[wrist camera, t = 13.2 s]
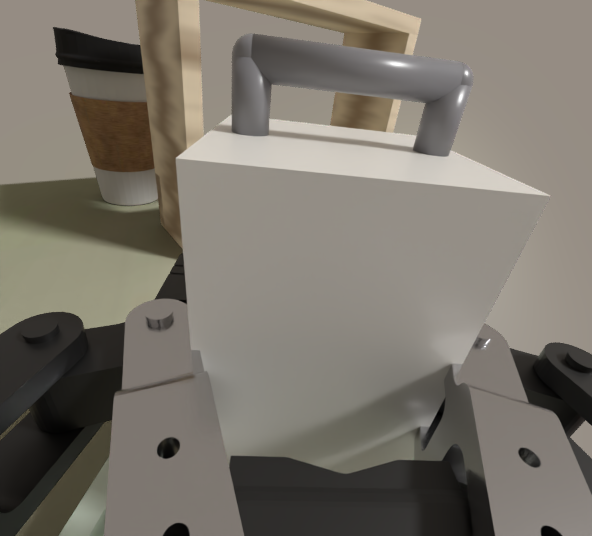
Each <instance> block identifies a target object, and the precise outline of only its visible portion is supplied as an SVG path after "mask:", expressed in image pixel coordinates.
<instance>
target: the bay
mask: <svg viewBox="0 0 592 536" xmlns="http://www.w3.org/2000/svg"><path fill="white" fill-rule="evenodd" d="M206 1H211V2H215V3H219V4H223V5H228V6H232V7H236V8H240V9H245V10H249V11H253V12H257V13H261V14H266V15H270V16H274V17H278V18H283V19H287V20H291V21H296V22H299V23H304V24H308V25H313V26H316V27H321V28H325V29H329V30H333V31H338V32H342V33H344V39H343V46H348V47H356V48H363V49H370V50H378V51H385V52H393V53H400V54H408V55H413V51H414V47H415V43H416V39H417V35H418V31H419V27H420V23H421V19H420V18H417V17H414V16H411V15H408V14H405V13H402V12H399V11H396V10H393V9H390V8H387V7H384V6H381V5H378V4H375V3H372V2H369V1H366V0H206ZM135 2H136V11H137V19H138V28H139V36H140V46H141V54H142V63H143V72H144V80H145V89H146V98H147V106H148V115H149V124H150V132H151V141H152V150H153V158H154V167H155V176H156V184H157V193H158V202H159V210H160V219H161V224H162V226H163V227H164V228H165V229H166V230H167V232H168V233H169V234H170V235H171V236H172V237H173V239H174V240H175V241H176V242H177V243H178V245H179V246H180V247H181V248H182V249H183V245H182V233H181V220H180V208H179V196H178V183H177V171H176V157H178V156H179V155H180V154H182V153H183V152H184V151H185V150H187V149H188V148H189V147H190V146H192V145H193V144H194V143H196V142H197V141H198V140H199V139H201V138H202V137H203V136H204V132H203V104H202V76H201V48H200V23H199V21H200V20H199V0H135ZM400 103H401V100H396V99H388V98H380V97H372V96H364V95H355V94H347V93H339V92H335V98H334V104H333V111H332V118H331V124H330V126H338V127H346V128H355V129H364V130H373V131H382V132H390V133H393V131H394V127H395V123H396V119H397V115H398V111H399V107H400Z"/></svg>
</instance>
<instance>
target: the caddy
mask: <svg viewBox="0 0 592 536" xmlns="http://www.w3.org/2000/svg"><path fill="white" fill-rule="evenodd" d="M272 84H274V85H282V86H290V87H298V88H307V89H315V90H323V91H331V92H339V93H347V94H355V95H364V96H372V97H380V98H388V99H396V100H405V101H413V102H421V103H426V104H425V107H424V111H423V114H422V118H421V121H420V125H419V129H418V132H417V135H408V134H399V133H390V132H382V131H373V130H364V129H355V128H346V127H338V126H329V125H320V124H311V123H302V122H293V121H284V120H275V119H269V118H270V102H271V85H272ZM472 85H473V73H472V71H471V69H470V68H469V66H468V65H467V64H465V63H463V62H459V61H451V60H445V59H437V58H430V57H422V56H415V55H408V54H400V53H393V52H385V51H378V50H370V49H363V48H356V47H348V46H341V45H333V44H326V43H319V42H311V41H304V40H296V39H289V38H282V37H274V36H267V35H258V34H246V35H243V36H241V37H240V38H239V39H238V40H237V41H236V43H235V45H234V47H233V51H232V114H231V115H230V116H229V117H227V118H226V119H225V120H224V121H222V122H221V123H220V124H218V125H217V126H216V127H215V128H213V129H212V130H211V131H210V132H208V133H207V134H206V135H205V136H203V137H202V138H201V139H199V140H198V141H197V142H196V143H194V144H193V145H192V146H190V147H189V148H188V149H187V150H185V151H184V152H183V153H182V154H180V155H179V156H178V157H176V171H177V183H178V196H179V208H180V220H181V233H182V245H183V258H184V270H185V282H186V295H187V307H188V320H189V332H190V345H191V350H200V353H201V358H202V363H203V368H204V371H207V372H208V375H209V379H210V383H211V387H212V392H213V397H214V401H215V406H216V410H217V415H218V419H219V424H220V428H221V433H222V437H223V442H224V446H225V451H226V455H227V460H228V464H229V465H230V457H231V456H267V457H288V458H292V459H295V460H298V461H302V462H305V463H309V464H312V465H315V466H319V467H322V468H325V469H329V470H332V471H335V472H339V473H345V474H348V473H353V472H356V471H360V470H363V469H367V468H370V467H374V466H377V465H381V464H384V463H388V462H391V461H395V460H412V459H413V458H414V438H415V436H416V434H417V432H418V430H419V428H420V426H423V427H430V425H431V423H432V421H433V420H434V418H435V416H436V414H437V412H438V410H439V408H440V406H441V404H442V402H443V401H444V399H445V387H444V379H445V377H446V375H447V373H448V371H449V369H450V367H451V365H452V363H453V364H463V363H464V361H465V359H466V357H467V355H468V353H469V351H470V349H471V347H472V345H473V344H474V342H475V340H476V338H477V336H478V334H479V332H480V330H481V328H482V326H483V325H484V323H485V321H486V319H487V317H488V315H489V313H490V311H491V309H492V307H493V305H494V304H495V302H496V300H497V298H498V296H499V294H500V292H501V290H502V288H503V287H504V285H505V283H506V281H507V279H508V277H509V275H510V273H511V271H512V269H513V267H514V266H515V264H516V262H517V260H518V258H519V256H520V254H521V252H522V250H523V249H524V247H525V245H526V243H527V241H528V239H529V237H530V235H531V233H532V231H533V230H534V228H535V226H536V224H537V222H538V220H539V218H540V216H541V214H542V212H543V210H544V209H545V207H546V205H547V203H548V201H549V199H550V197H551V196H550V195H548V194H546V193H543V192H541V191H539V190H537V189H535V188H533V187H530V186H528V185H526V184H524V183H522V182H519V181H517V180H515V179H513V178H510V177H508V176H506V175H504V174H502V173H500V172H497V171H495V170H493V169H491V168H489V167H487V166H484V165H482V164H480V163H478V162H476V161H473V160H471V159H469V158H467V157H465V156H462V155H460V154H458V153H456V152H454V151H451V147H452V145H453V141H454V139H455V135H456V133H457V129H458V126H459V124H460V121H461V118H462V115H463V112H464V109H465V106H466V103H467V100H468V97H469V94H470V91H471V88H472Z"/></svg>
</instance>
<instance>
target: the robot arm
mask: <svg viewBox="0 0 592 536" xmlns="http://www.w3.org/2000/svg"><path fill="white" fill-rule="evenodd" d="M444 387H445V399H444V401H443V402H442V404H441V406H440V408H439V410H438V412H437V414H436V416H435V418H434V420H433V421H432V423H431V425H430V427H423V426H420V428H419V430H418V432H417V434H416V436H415V438H414V460H395V461H391V462H388V463H384V464H381V465H377V466H374V467H370V468H367V469H363V470H360V471H356V472H353V473H348V474H345V473H339V472H335V471H332V470H329V469H325V468H322V467H319V466H315V465H312V464H309V463H305V462H302V461H298V460H295V459H292V458H288V457H267V456H231V457H230V465H229V464H228V460H227V455H226V451H225V446H224V442H223V437H222V433H221V428H220V424H219V419H218V415H217V410H216V406H215V401H214V397H213V392H212V387H211V383H210V379H209V375H208V372H207V371H204V368H203V363H202V358H201V353H200V350H191V345H190V332H189V320H188V307H187V295H186V282H185V270H184V258H183V253H182V254H181V255H180V256H179V257H178V259H177V261H176V263H175V264H174V266H173V268H172V270H171V271H170V274H169V275H168V277H167V278H166V280H165V282H164V284H163V286H162V287H161V289H160V291H159V293H158V294H157V296H156V298H155V300H152V301H148V302H145V303H143V304H141V305H139V306H137V307H136V308H134V309H133V310H132V311H131V312H130V313H129V314H128V316H127V318H126V321H125V322H124V323H120V324H116V325H110V326H103V327H97V328H90V329H84V326H83V322H82V320H81V319H80V318H79V317H78V316H76V315H74V314H71V313H66V312H51V313H44V314H40V315H36V316H33V317H30V318H28V319H25V320H23V321H21V322H19V323H17V324H15V325H14V326H12V327H11V328H9V329H8V330H6V331H5V332H3V333H2V334H0V435H1V434H2V433H3V432H4V431H5V430H6V429H7V428H8V427H9V426H10V425H11V424H13V423H14V422H15V421H16V420H17V419H18V418H19V417H20V416H21V415H22V414H23V413H24V412H25V411H26V410H27V409H29V411H30V413H29V414H28V415H27V416H26V417H25V418H24V419H23V420H22V421H20V422H19V423H18V424H17V425H16V426H15V427H14V428H13V429H12V430H11V431H10V432H9V433H8V434H7V435H6V436H5V437H4V438H3V439H2V440H1V441H0V536H15V535H16V534H17V533H18V531H19V530H20V529H21V528H22V526H23V525H24V524H25V522H26V521H27V520H28V519H29V517H30V516H31V515H32V514H33V512H34V511H35V510H36V509H37V507H38V506H39V505H40V503H41V502H42V501H43V500H44V498H45V497H46V496H47V495H48V493H49V492H50V491H51V489H52V488H53V487H54V486H55V484H56V483H57V482H58V481H59V479H60V478H61V477H62V476H63V474H64V473H65V472H66V470H67V469H68V468H69V467H70V465H71V464H72V463H73V462H74V460H75V459H76V458H77V456H78V455H79V454H80V453H81V451H82V450H83V449H84V448H85V446H86V445H87V444H88V443H89V441H90V440H91V439H92V437H93V436H94V435H95V434H96V432H97V431H98V430H99V429H100V427H101V426H102V425H103V423H104V422H106V421H110V420H112V429H111V443H110V457H109V472H108V486H107V500H106V514H105V528H104V536H592V459H591V458H590V457H589V456H588V455H587V454H586V453H585V452H584V451H583V450H582V449H581V448H580V447H579V446H578V445H577V444H576V443H575V442H574V441H573V440H572V439H571V438H570V436H571V435H572V434H573V433H574V432H575V431H576V430H577V429H578V428H579V426H581V424H582V423H583V422H584V421H585V420H586V421H587V422H588V423H589V424H591V425H592V355H591V354H590V353H588V352H586V351H584V350H582V349H579V348H577V347H574V346H572V345H568V344H564V343H549V344H547V345H546V346H545V348H544V349H543V351H542V352H541V353H540V355H539V356H536V355H532V354H529V353H525V352H521V351H518V350H514V349H511V348H509V346H508V343H507V341H506V340H505V339H504V337H503V336H502V335H501V334H500V333H499V332H497V331H496V330H495V329H493V328H491V327H490V326H488V325H486V324H484V325H483V326H482V328H481V330H480V332H479V334H478V336H477V338H476V340H475V342H474V344H473V345H472V347H471V349H470V351H469V353H468V355H467V357H466V359H465V361H464V363H463V364H453V363H452V365H451V367H450V369H449V371H448V373H447V375H446V377H445V379H444Z"/></svg>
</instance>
